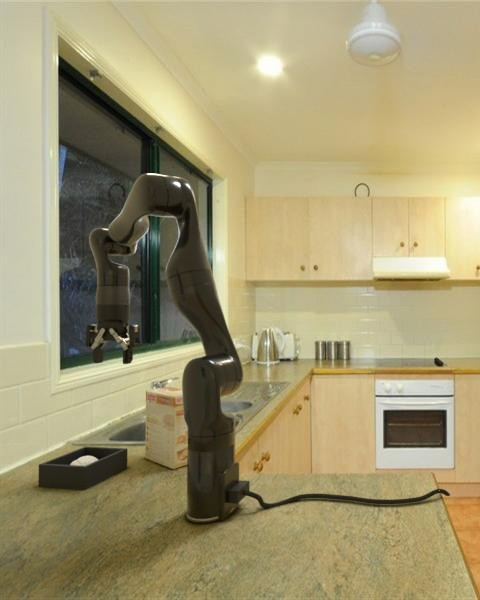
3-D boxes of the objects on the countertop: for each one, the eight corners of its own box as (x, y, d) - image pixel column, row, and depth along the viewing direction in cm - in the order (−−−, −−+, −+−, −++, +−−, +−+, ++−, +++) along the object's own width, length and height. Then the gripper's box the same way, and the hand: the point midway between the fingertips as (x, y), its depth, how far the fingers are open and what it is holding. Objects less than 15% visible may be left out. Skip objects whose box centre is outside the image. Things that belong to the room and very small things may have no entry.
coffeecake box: (198, 461, 113) (198, 391, 113) (172, 470, 106) (173, 396, 107) (169, 450, 120) (170, 385, 121) (144, 458, 114) (144, 390, 115)
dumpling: (90, 468, 106) (95, 453, 107) (102, 475, 104) (107, 460, 105) (60, 474, 100) (66, 457, 100) (73, 481, 98) (78, 465, 98)
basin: (127, 468, 108) (127, 448, 108) (85, 489, 95) (85, 467, 95) (85, 465, 109) (85, 446, 109) (38, 486, 97) (38, 464, 97)
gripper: (77, 303, 106) (76, 364, 105) (126, 303, 104) (125, 366, 104) (101, 303, 113) (101, 360, 113) (147, 303, 111) (147, 361, 111)
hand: (112, 363), depth 108 cm, fingers open, 8 cm apart
